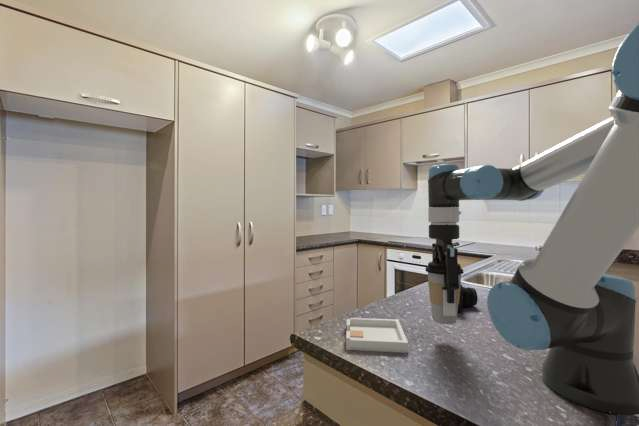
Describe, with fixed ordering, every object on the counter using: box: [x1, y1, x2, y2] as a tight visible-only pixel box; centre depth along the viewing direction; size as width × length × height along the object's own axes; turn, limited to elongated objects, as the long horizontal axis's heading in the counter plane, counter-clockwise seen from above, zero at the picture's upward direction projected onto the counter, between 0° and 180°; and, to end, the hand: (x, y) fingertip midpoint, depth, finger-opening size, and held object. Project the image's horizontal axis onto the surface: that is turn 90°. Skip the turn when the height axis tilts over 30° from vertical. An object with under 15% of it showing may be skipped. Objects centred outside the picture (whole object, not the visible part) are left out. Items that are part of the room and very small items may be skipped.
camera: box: [457, 284, 479, 314], centre depth 108 cm, size 14×11×10 cm
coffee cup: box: [425, 261, 465, 325], centre depth 81 cm, size 9×9×15 cm
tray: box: [345, 317, 409, 354], centre depth 83 cm, size 15×15×2 cm
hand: (444, 309), depth 81 cm, fingers closed on coffee cup, 8 cm apart
